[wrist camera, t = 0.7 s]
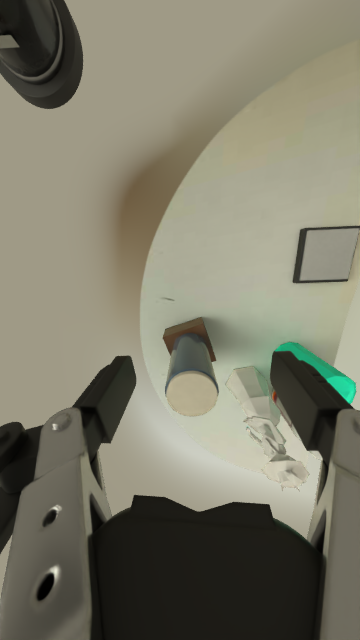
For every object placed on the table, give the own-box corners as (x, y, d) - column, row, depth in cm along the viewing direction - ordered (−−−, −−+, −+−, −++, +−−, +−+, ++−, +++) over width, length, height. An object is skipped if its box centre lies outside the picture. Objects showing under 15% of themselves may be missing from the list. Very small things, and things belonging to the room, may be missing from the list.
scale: (300, 229, 27) (306, 227, 25) (354, 227, 26) (363, 224, 25) (292, 282, 29) (297, 283, 28) (342, 281, 29) (350, 281, 27)
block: (165, 329, 32) (162, 337, 28) (201, 316, 31) (203, 323, 27) (178, 360, 34) (177, 372, 30) (213, 350, 33) (216, 360, 29)
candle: (283, 337, 32) (337, 376, 20) (311, 348, 32) (381, 393, 21) (266, 364, 33) (308, 414, 22) (294, 374, 34) (349, 429, 22)
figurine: (222, 371, 34) (258, 476, 17) (264, 363, 33) (347, 465, 16) (228, 400, 36) (266, 520, 19) (268, 393, 35) (346, 513, 18)
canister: (167, 339, 28) (155, 381, 18) (201, 328, 28) (209, 364, 17) (179, 368, 30) (175, 423, 19) (212, 358, 29) (226, 410, 19)
